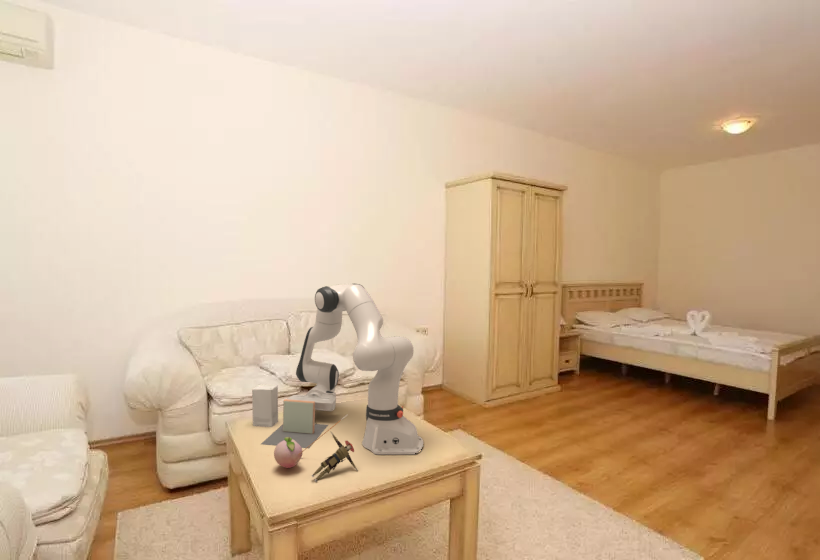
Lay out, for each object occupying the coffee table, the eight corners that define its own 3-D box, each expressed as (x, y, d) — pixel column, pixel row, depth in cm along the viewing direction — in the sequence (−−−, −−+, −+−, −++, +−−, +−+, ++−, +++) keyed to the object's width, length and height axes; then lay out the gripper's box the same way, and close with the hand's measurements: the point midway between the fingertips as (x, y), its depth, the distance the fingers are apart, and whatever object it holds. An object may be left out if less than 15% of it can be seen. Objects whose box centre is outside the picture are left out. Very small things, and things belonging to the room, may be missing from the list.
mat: (328, 425, 169) (328, 424, 169) (309, 449, 148) (309, 448, 148) (285, 422, 172) (285, 421, 172) (260, 445, 150) (260, 444, 150)
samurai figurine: (322, 499, 131) (368, 455, 143) (331, 499, 123) (380, 453, 136) (292, 456, 133) (341, 416, 145) (300, 453, 125) (351, 412, 137)
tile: (314, 432, 162) (315, 401, 161) (312, 434, 160) (313, 403, 159) (284, 429, 163) (285, 399, 163) (282, 431, 161) (283, 400, 161)
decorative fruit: (269, 465, 135) (270, 435, 135) (294, 459, 140) (294, 429, 140) (279, 478, 128) (280, 446, 127) (305, 471, 133) (306, 439, 132)
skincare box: (278, 422, 171) (279, 384, 171) (271, 428, 165) (272, 389, 164) (258, 421, 172) (259, 383, 172) (251, 427, 166) (251, 388, 165)
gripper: (293, 389, 181) (279, 399, 168) (339, 392, 179) (329, 403, 165) (292, 404, 182) (279, 415, 168) (338, 407, 179) (328, 419, 165)
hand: (304, 409), depth 166 cm, fingers closed
